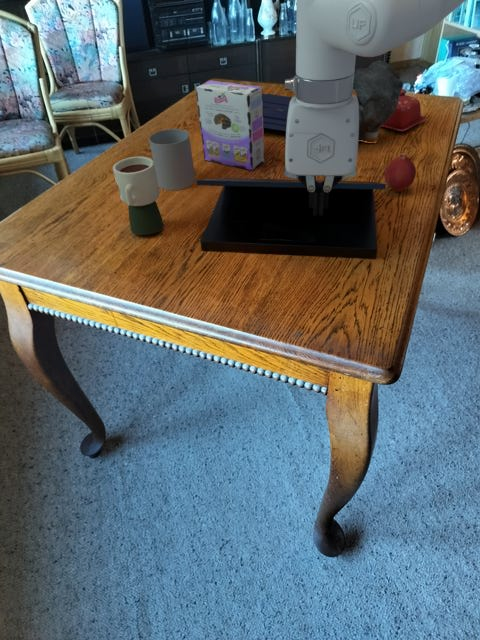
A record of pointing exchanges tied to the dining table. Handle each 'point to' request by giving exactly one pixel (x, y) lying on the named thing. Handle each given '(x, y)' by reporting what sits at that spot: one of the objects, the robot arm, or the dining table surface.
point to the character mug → (139, 193)
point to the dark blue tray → (275, 111)
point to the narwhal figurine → (375, 97)
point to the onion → (400, 173)
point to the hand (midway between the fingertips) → (318, 211)
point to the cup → (172, 159)
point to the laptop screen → (288, 183)
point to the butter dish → (405, 114)
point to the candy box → (231, 123)
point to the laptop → (292, 223)
